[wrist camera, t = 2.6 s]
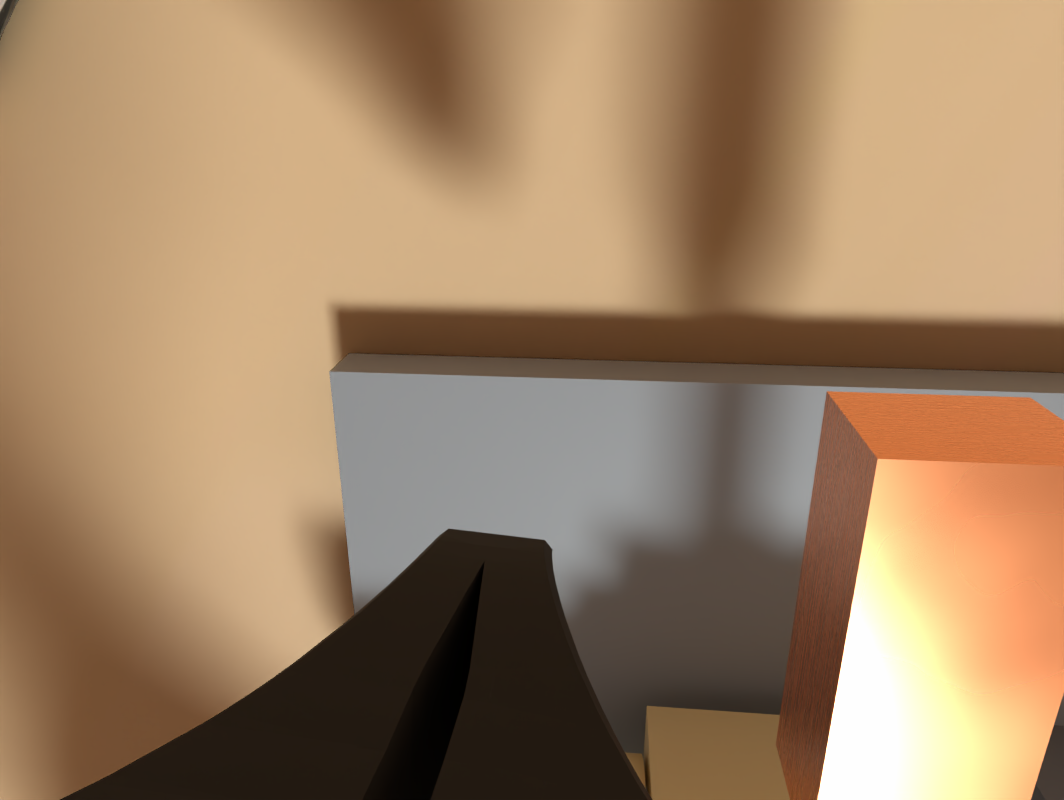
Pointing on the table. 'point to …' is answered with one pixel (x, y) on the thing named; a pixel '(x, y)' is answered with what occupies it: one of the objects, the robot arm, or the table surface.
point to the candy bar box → (6, 13)
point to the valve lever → (927, 601)
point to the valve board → (631, 523)
